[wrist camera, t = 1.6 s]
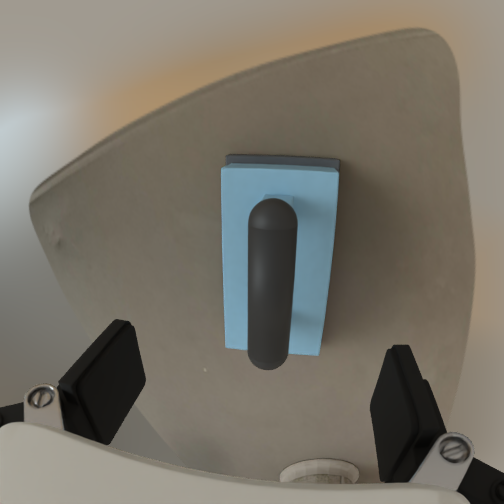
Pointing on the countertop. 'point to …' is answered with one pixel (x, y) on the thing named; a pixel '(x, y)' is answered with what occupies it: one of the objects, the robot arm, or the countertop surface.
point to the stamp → (277, 253)
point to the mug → (320, 472)
